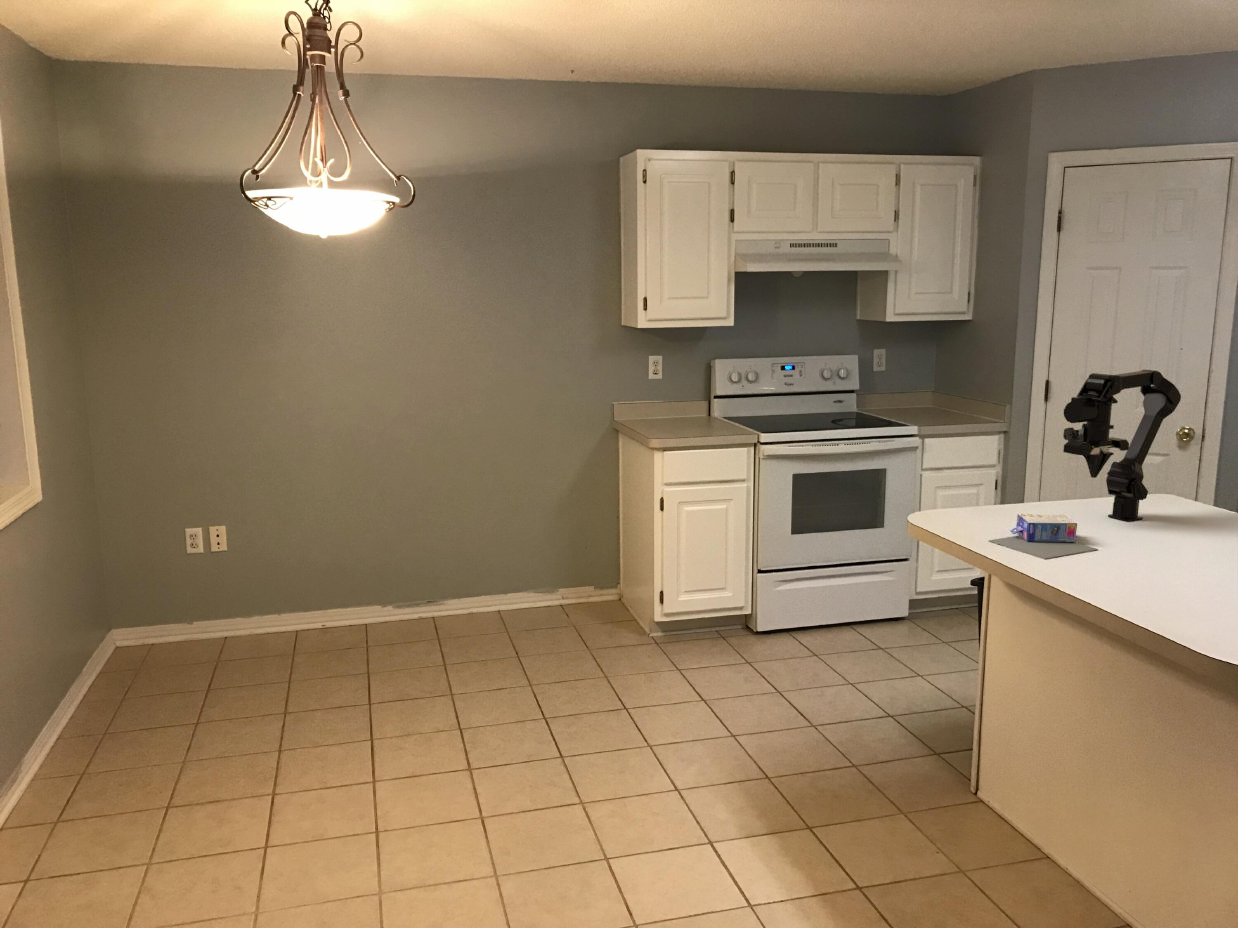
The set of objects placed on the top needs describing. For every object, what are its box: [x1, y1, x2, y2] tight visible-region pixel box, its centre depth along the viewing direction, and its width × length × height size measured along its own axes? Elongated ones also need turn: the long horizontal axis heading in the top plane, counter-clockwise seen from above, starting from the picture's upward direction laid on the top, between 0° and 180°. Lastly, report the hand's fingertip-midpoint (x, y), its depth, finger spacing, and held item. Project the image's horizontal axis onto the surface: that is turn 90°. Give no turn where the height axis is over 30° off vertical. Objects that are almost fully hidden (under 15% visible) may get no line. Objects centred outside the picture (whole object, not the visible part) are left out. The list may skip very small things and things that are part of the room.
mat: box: [988, 534, 1099, 560], centre depth 249 cm, size 18×18×1 cm
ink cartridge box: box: [1009, 513, 1078, 543], centre depth 255 cm, size 10×6×14 cm
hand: (1093, 477), depth 267 cm, fingers closed
